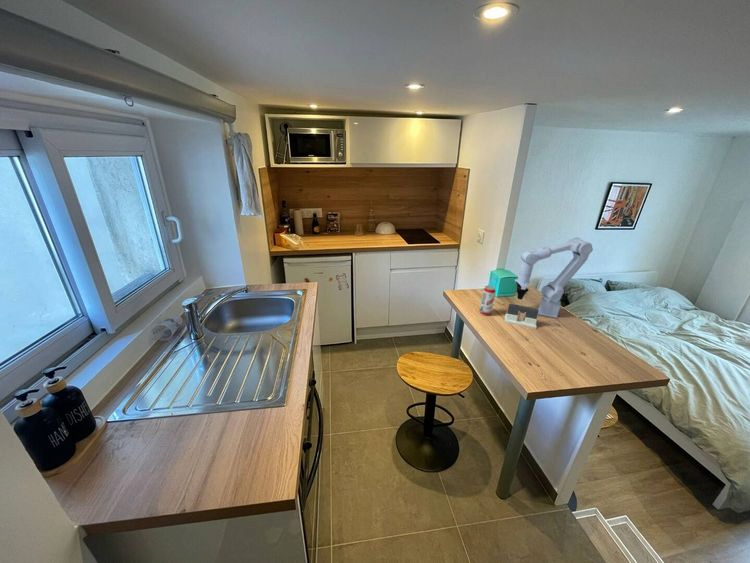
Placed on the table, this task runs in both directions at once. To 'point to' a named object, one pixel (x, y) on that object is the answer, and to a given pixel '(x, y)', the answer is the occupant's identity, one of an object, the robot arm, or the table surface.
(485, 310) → the beer can
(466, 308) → the table surface
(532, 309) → the glasses bar
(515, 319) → the display stand
